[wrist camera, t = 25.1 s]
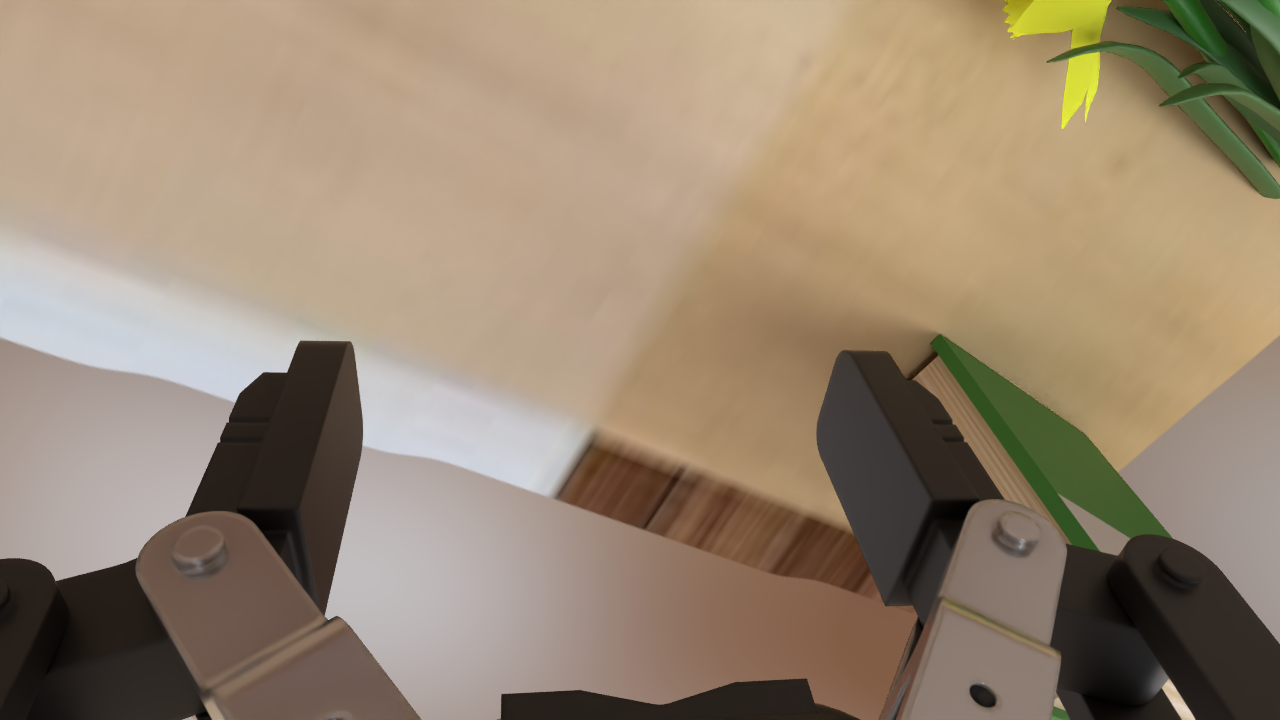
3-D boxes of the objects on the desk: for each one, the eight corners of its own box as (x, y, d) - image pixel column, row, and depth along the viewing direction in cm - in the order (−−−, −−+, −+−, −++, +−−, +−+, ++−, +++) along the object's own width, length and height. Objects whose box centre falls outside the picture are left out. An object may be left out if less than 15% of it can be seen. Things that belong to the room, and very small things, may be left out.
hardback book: (863, 406, 58) (1031, 722, 39) (940, 333, 55) (1164, 639, 36) (1010, 493, 66) (1211, 794, 47) (1085, 434, 63) (1334, 730, 44)
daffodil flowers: (1146, 276, 56) (840, 25, 34) (1215, 70, 55) (951, -315, 34) (1495, 314, 42) (1360, -56, 21) (1587, 44, 42) (1547, -617, 20)
